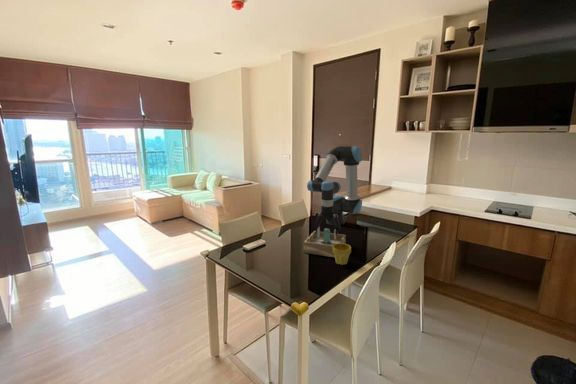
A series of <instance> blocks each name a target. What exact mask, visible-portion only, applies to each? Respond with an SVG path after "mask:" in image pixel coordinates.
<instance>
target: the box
mask: <svg viewBox="0 0 576 384" xmlns="http://www.w3.org/2000/svg"><path fill="white" fill-rule="evenodd" d="M346 236H347V235H346V234H342V233H341V234H340V233H338V234H337V235H336V239H335V240H334V232H333V233H332V232H330V245H329V244H323V243H324V231H320V236H319V238H317V232H316V230H314V231H313V232H311V234H310V235H308V236H307V238H306V239H305V240H304V241H303V253H306V254H311V255H317V256H324V257H330V258H335V256H334V253H333V245H334V244H338V243H343V244H346V241H347V240H346Z"/></svg>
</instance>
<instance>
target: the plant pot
mask: <svg viewBox="0 0 576 384" xmlns="http://www.w3.org/2000/svg"><path fill="white" fill-rule="evenodd" d="M333 253H334V256H335V257H334V259H335V261H334V262H335V264H337V265H339V264H340V266H342V265H343V266H345V265H347V264H348V262H349V257H350V255H351V253H352V247H351V245H350V244H347V243H345V244H343V243H338V244H334V245H333Z"/></svg>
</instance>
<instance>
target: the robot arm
mask: <svg viewBox="0 0 576 384" xmlns="http://www.w3.org/2000/svg"><path fill="white" fill-rule="evenodd" d="M362 159H363V153H362V149H361V148H360V147H359V146H355V145H343V146H342V145H338V146H335V147H334V148H332V149H331V150H330V151H328V152H327V153H326V156H325V159H324V162H323V163H322V165H321V167H320V168H319V170H318V172H317V173H316V175H315V176H314V179H313V180H308V182H307V184H306V188H307V191H309V192H313V193H321V197H320V199H321V203H320V204H321V206H320V211H321V212H319V211H317V212H316V217H315V219H314V223H313V227H314V228H315V231H316V232H317V238H319V236H320V232H321V227H320V225H321V223H322V222H323V220H326V224H327V225H331V226H332V227H333V229H334V230H333V233H334V240H335V239H336V235H337V234H339V230H341V229H342V227H341V226H343V225H345V221H346V220H345V218H344V213H348V214H353V215H354V214H355V215H356V214H359V213H360V212H361V210H362V206H363V200H362V199H361V198H360V195H358V194H359V193H358V166H359V165H360V163H361V162H362ZM338 162H343V166H344V167H345V182H346V183H345V186H346V187H345V189H346V191H345V192H346V194H345V196H344V195H342V194H338V195H336V194H337V193H338V192H340V191H341V187H342V185H341V183H340V182H338V181H332V180H329V181H328V180H327V178H328V177H329V175H330V173H331V172H332V170H333V168H334V166H335V165H337V163H338ZM320 216H321V218H320ZM319 218H320V220H319ZM318 221H319V222H318Z"/></svg>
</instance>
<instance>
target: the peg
mask: <svg viewBox="0 0 576 384" xmlns="http://www.w3.org/2000/svg"><path fill="white" fill-rule="evenodd" d="M323 232H324V243H323V244H329V245H330V233H331V229H330V228H324V229H323Z"/></svg>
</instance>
